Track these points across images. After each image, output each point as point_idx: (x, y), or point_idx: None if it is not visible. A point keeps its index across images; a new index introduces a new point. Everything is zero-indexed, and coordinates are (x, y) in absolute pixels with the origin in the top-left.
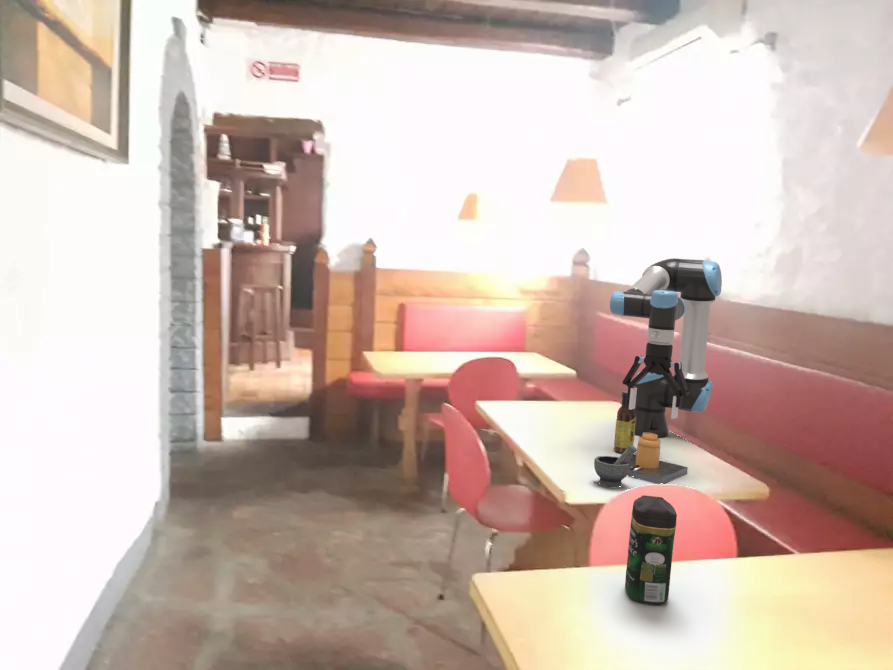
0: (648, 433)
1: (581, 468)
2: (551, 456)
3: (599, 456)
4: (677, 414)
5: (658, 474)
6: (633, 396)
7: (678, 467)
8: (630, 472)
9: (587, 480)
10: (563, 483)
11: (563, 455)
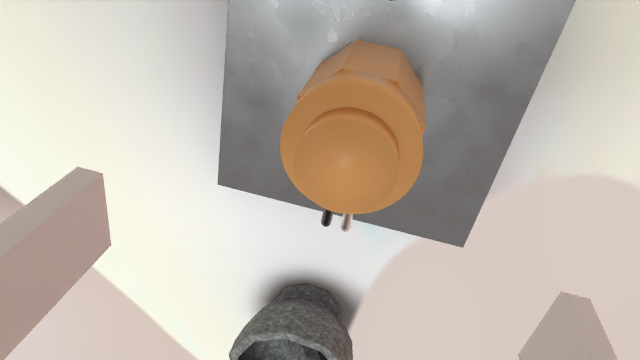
0: (328, 153)
1: (165, 204)
2: (12, 126)
3: (233, 353)
4: (599, 331)
5: (442, 211)
6: (4, 325)
7: (531, 17)
8: None
9: (242, 306)
10: (210, 354)
11: (21, 78)
